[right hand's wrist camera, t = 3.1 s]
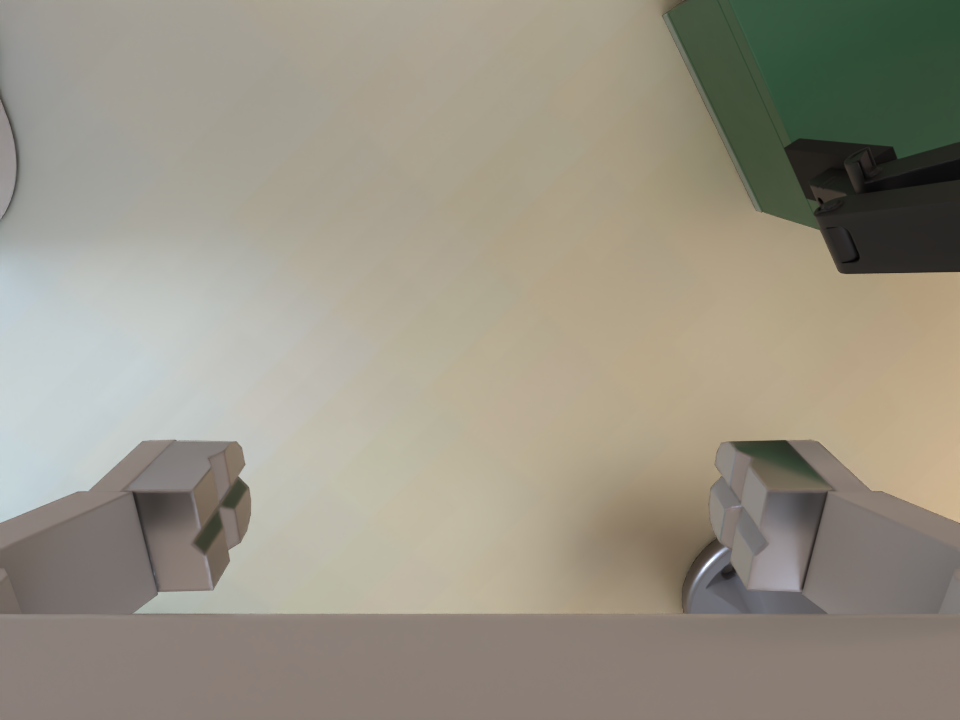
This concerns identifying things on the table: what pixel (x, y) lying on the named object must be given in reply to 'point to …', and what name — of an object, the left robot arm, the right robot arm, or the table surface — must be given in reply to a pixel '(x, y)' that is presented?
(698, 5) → the green storage box
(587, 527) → the table surface
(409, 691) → the right robot arm
